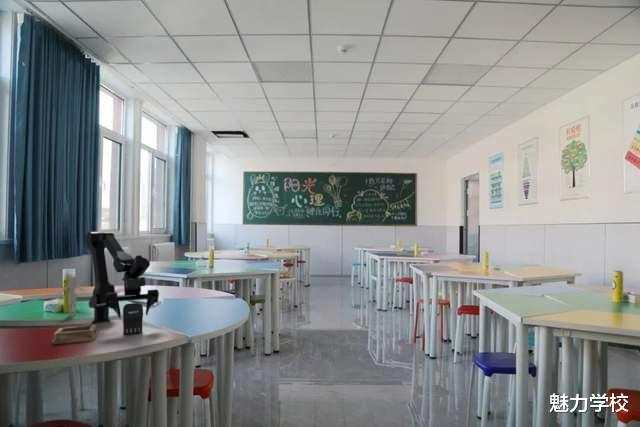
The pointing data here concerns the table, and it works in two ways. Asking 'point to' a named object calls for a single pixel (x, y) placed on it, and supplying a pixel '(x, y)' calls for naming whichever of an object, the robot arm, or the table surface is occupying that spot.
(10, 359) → the table surface
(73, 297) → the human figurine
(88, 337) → the wooden tray
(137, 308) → the battery
